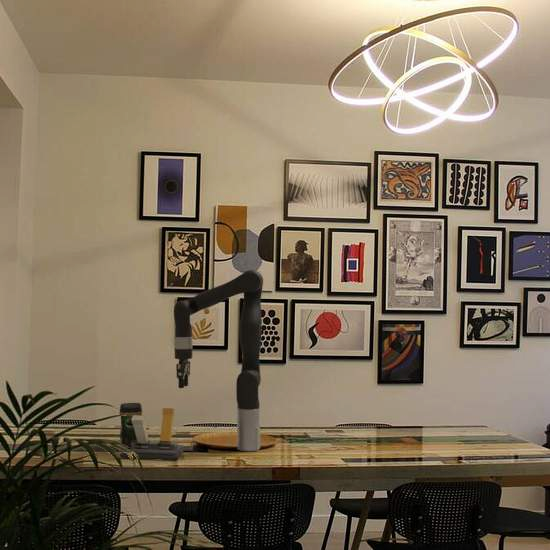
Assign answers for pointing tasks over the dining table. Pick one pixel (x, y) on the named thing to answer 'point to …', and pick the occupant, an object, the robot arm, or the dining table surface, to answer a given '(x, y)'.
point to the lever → (140, 430)
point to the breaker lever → (166, 427)
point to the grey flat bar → (152, 454)
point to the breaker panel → (155, 446)
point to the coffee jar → (128, 422)
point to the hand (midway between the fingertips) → (183, 386)
